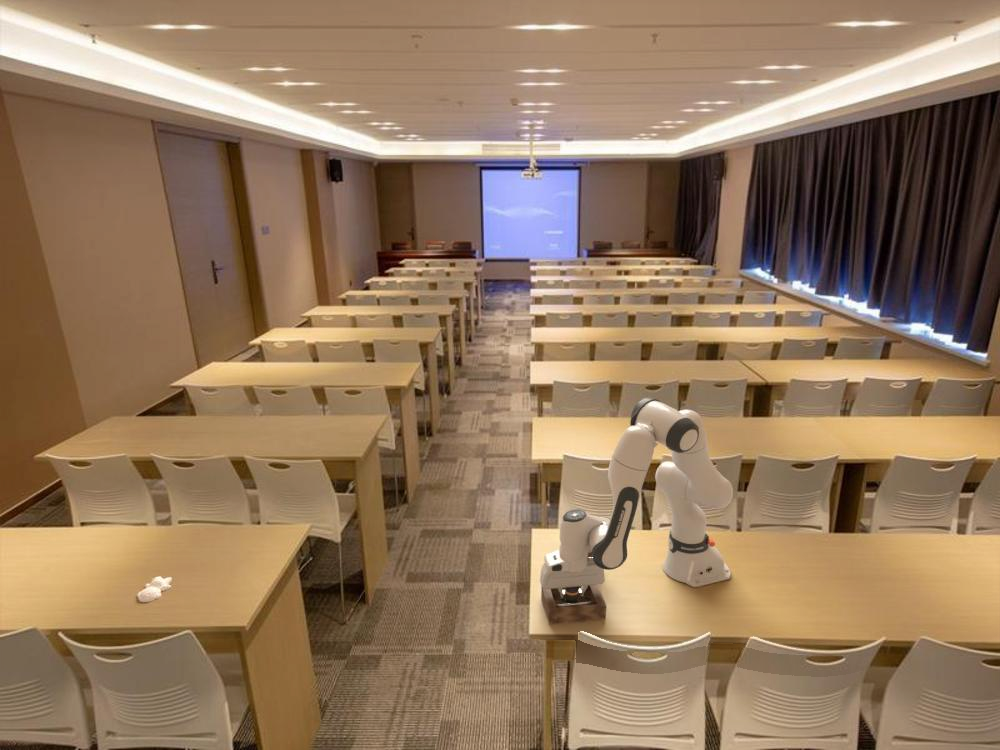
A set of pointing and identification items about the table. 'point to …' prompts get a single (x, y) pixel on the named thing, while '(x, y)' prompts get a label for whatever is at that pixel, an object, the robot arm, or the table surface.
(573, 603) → the metal rod
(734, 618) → the table surface
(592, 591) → the brown wooden frame
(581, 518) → the robot arm
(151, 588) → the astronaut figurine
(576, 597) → the orange-banded dark cylinder
